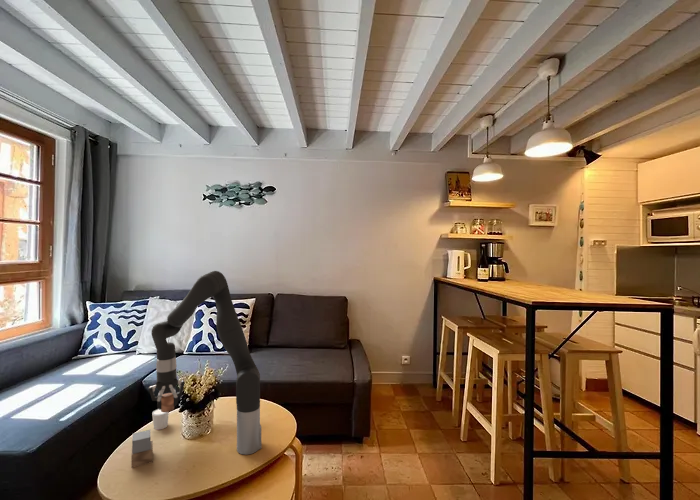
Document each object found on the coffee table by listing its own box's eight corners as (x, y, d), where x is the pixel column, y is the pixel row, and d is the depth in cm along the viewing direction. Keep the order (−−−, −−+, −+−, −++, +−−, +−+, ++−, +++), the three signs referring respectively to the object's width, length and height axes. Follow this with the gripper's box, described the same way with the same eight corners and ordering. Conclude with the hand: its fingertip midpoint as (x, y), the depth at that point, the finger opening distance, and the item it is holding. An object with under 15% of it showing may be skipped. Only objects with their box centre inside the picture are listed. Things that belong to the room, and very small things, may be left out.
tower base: (152, 452, 144) (152, 440, 144) (152, 462, 138) (152, 449, 138) (132, 457, 141) (132, 445, 141) (131, 468, 135) (131, 455, 135)
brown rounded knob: (173, 405, 156) (173, 392, 156) (174, 410, 152) (174, 396, 151) (160, 408, 153) (160, 394, 153) (161, 413, 149) (161, 399, 149)
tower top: (150, 441, 144) (150, 429, 143) (150, 449, 138) (150, 437, 138) (133, 445, 141) (132, 433, 140) (132, 454, 135) (132, 441, 135)
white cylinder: (162, 431, 160) (161, 415, 160) (148, 429, 161) (148, 414, 161) (172, 423, 167) (172, 408, 166) (159, 421, 168) (159, 407, 168)
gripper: (184, 362, 158) (185, 400, 159) (147, 368, 151) (148, 407, 152) (185, 367, 152) (186, 407, 153) (147, 374, 145) (148, 415, 146)
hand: (167, 407), depth 152 cm, fingers closed on brown rounded knob, 5 cm apart
